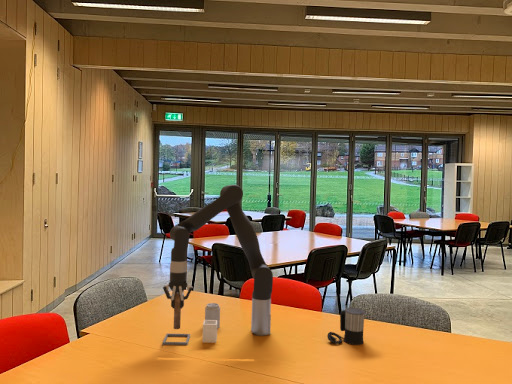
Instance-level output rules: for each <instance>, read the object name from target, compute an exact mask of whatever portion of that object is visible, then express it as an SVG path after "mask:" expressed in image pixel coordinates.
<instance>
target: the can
mask: <svg viewBox="0 0 512 384" xmlns="http://www.w3.org/2000/svg"><path fill="white" fill-rule="evenodd" d="M204 309H205V310H204V320H217V329H219V328H220V326H221V307H220V304H218V303H215V302H210V303H207V304H206V306H205V308H204Z"/></svg>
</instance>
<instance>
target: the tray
mask: <svg viewBox="0 0 512 384" xmlns="http://www.w3.org/2000/svg"><path fill="white" fill-rule="evenodd" d="M168 337H178V338H179V337H180V338H181V337H182V338H186V340H185V341H167V339H168ZM190 338H191V333H166V334H165V336H164V338H163V340H162V347H164V345H165V346H188V345H189V340H190Z"/></svg>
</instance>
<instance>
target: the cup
mask: <svg viewBox="0 0 512 384" xmlns="http://www.w3.org/2000/svg"><path fill="white" fill-rule="evenodd" d="M217 340H218V328H217V320H205V319H203V323H202V341H201V342H202V343H209V344H211V343H216V344H217Z"/></svg>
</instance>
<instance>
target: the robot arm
mask: <svg viewBox="0 0 512 384" xmlns="http://www.w3.org/2000/svg"><path fill="white" fill-rule="evenodd" d="M219 192H220V193H219V197H217V198H216V199H214V200H213V201H211V202H210V203H208V204H207V205H205V206H203V207H202V208H200V209H199V210H196V212H194V213H193V214H192V215H190V216H189V217H187V218H186V219H185V220H182V221H180V222H179V223H176V224H175V225H174V226H173V227H172V228H171V229H170V232H169V238H170V239H171V240H173V243H174V244H173V247H172V248H171V252H170V265H169V283H168V284H166V285H163V287H162V289H163V292H164V295H165V297H166V299H167V300H170V307H171V308H172V309H174V296H175V293H180V296H181V302H180V309H181V310H182V309H183V308H184V306H185V300H188V298H189V296H190V294H191V293H192V290H193V288H194V287H193V286H192V285H189V284H188V282H187V278H188V277H187V275H188V270H187V269H188V261H187V259H188V256H187V255H188V253H187V252H188V247H189V244H190V243H189V242H190V233H192V232H196V231H198V230H200V229H201V228H203V226H205V225H206V224H208V222H210V221H211V220H213V219H214V218H215V217H216V216H217V215H219V214H221V212H224V211H225V210H226V212H227V213H228V216H229V219H230V221H231V224H232V227H233V230H234V232H235V236H236V238H237V240H238V242H239V244H240V247H241V249H242V251H243V253H244V255H245V256H246V258H247V259H246V260H247V261H248V265H249V270H250V273H251V276H252V279H253V290H252V292H251V293H252V295H251V322H250V324H251V326H250V327H251V328H250V331H251V333H252V334H253V335H255V336H267V335H271V325H272V324H271V321H272V315H271V311H272V310H271V308H272V305H271V304H272V293H273V285H274V284H273V281H274V275H273V271H272V270H271V269H270V267H269V266H268V265H267V263H266V261H265V259H264V257H263V255H262V253H261V247H260V242H259V237H258V235H257V232H256V230H255V227H254V225H253V223H252V222H251V220H250V219H249V218H248V216H247V215H246V214H245V212H244V210H243V208H242V206H241V204H240V202H241V200H242V199H243V197H244V190H243V189H242V187H241V186H239V185H237V184H228V185H225V186H223V187H222V188H221V190H220V191H219ZM169 288H170V290H171V294H170V291H169ZM186 289H187V293H186V294H185V293H184V291H185V290H186Z"/></svg>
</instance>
